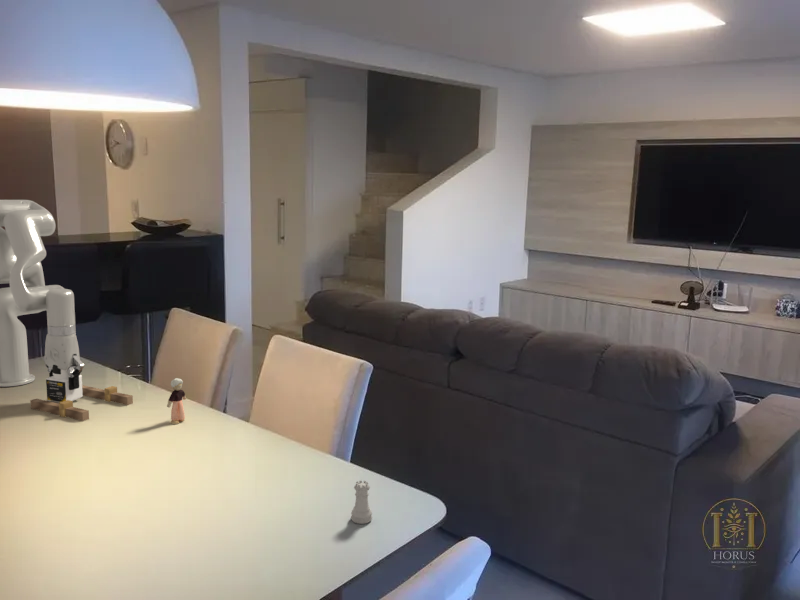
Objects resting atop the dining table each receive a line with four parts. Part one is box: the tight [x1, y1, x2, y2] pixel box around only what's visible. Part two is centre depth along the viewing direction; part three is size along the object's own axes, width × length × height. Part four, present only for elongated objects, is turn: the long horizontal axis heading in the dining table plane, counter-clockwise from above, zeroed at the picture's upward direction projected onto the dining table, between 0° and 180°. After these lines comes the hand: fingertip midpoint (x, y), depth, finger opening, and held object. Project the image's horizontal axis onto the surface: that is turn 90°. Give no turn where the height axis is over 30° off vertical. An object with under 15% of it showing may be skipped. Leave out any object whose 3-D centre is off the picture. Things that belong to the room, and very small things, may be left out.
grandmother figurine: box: [166, 377, 187, 425], centre depth 195 cm, size 8×4×13 cm, turn 171°
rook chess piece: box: [350, 479, 373, 525], centre depth 141 cm, size 4×4×8 cm
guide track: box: [30, 384, 134, 422], centre depth 207 cm, size 22×19×4 cm
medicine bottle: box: [45, 365, 84, 404], centre depth 210 cm, size 7×7×12 cm
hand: (64, 386), depth 210 cm, fingers closed on medicine bottle, 7 cm apart
